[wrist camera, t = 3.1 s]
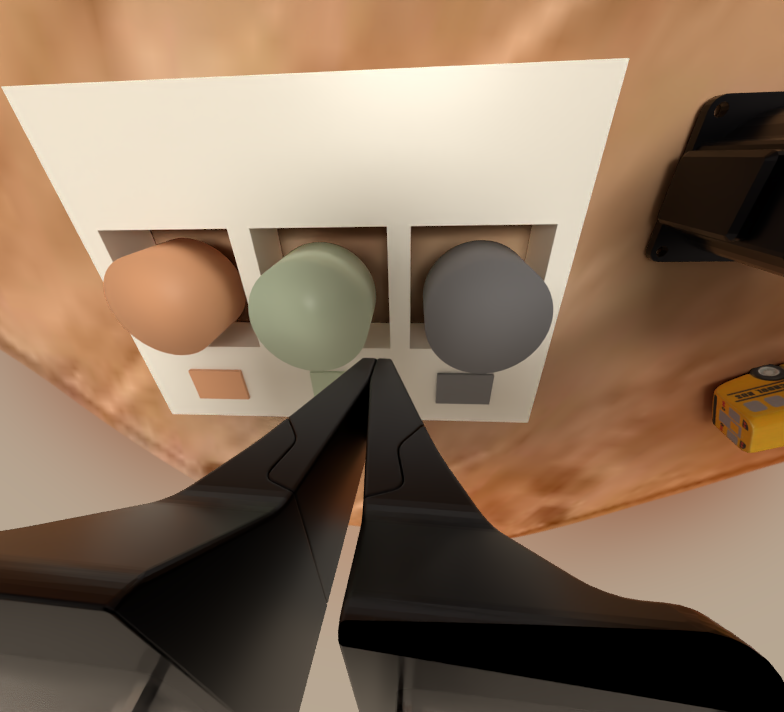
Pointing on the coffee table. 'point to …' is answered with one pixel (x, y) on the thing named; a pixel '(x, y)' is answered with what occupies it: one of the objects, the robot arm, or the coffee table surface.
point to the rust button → (175, 295)
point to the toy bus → (752, 409)
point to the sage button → (314, 307)
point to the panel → (331, 196)
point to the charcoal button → (485, 308)
